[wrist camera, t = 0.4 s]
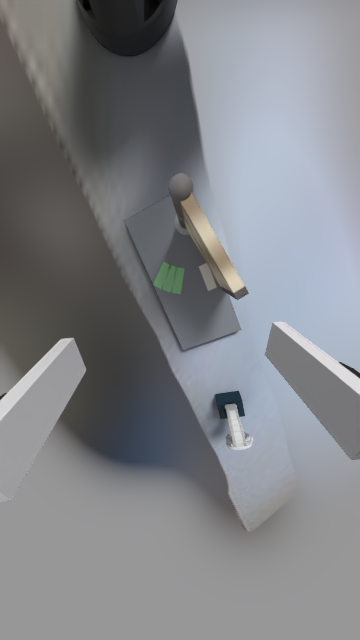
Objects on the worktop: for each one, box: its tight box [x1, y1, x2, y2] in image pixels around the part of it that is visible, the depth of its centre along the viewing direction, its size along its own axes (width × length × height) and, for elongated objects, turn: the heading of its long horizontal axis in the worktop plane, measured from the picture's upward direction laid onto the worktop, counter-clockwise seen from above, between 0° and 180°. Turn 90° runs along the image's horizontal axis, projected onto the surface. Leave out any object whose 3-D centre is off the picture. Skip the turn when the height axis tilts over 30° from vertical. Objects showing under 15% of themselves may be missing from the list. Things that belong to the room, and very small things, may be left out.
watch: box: [216, 391, 253, 450], centre depth 36 cm, size 6×8×11 cm
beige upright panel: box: [169, 173, 248, 300], centre depth 25 cm, size 15×3×12 cm, turn 33°
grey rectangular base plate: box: [124, 196, 241, 350], centre depth 33 cm, size 28×13×2 cm, turn 23°
